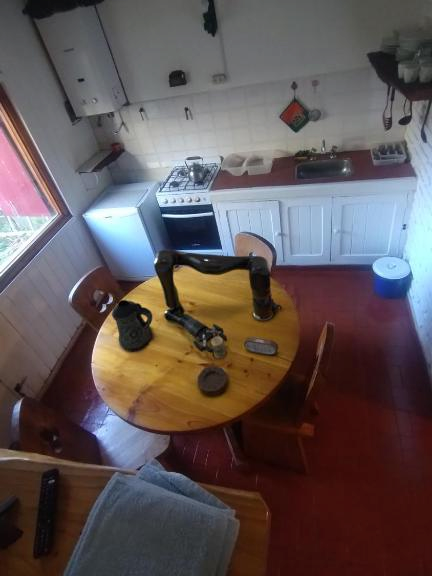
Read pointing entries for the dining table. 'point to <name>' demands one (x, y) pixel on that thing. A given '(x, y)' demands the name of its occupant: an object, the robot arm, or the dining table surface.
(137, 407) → the dining table surface
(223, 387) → the stand
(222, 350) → the disc stack
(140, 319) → the beer stein
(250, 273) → the robot arm
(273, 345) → the tin
